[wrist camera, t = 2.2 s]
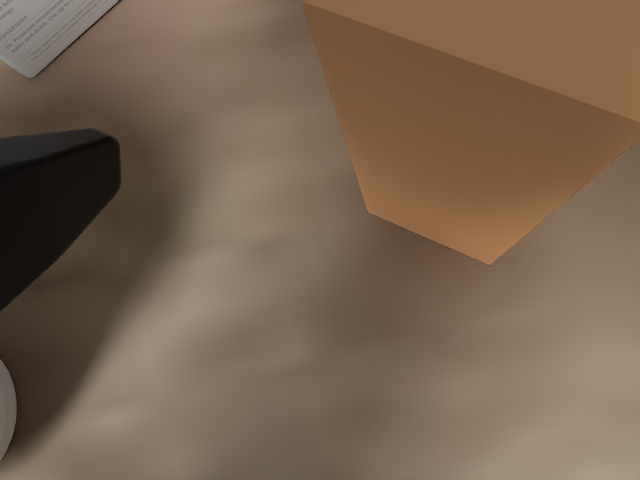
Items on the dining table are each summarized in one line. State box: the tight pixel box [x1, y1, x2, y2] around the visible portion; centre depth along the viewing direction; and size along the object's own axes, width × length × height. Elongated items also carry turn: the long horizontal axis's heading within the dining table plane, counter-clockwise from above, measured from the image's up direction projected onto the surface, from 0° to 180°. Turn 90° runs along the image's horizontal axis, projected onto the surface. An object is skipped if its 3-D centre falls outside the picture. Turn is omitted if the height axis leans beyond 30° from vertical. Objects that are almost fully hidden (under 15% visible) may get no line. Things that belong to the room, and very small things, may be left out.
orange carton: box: [302, 0, 640, 265], centre depth 13 cm, size 5×5×13 cm
